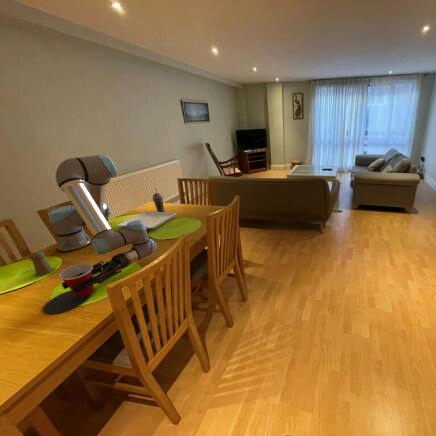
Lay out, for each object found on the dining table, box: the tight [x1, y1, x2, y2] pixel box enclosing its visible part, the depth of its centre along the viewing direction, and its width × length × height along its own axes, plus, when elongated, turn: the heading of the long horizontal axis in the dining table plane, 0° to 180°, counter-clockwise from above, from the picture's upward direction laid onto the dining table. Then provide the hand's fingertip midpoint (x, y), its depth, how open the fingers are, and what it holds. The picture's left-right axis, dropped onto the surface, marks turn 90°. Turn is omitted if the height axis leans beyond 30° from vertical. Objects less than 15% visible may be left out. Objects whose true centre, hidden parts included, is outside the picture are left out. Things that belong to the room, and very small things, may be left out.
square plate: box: [116, 211, 177, 230], centre depth 172 cm, size 27×27×4 cm
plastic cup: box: [58, 262, 95, 298], centre depth 101 cm, size 11×11×12 cm
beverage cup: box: [152, 187, 165, 212], centre depth 190 cm, size 7×7×20 cm
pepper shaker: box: [28, 251, 54, 277], centre depth 116 cm, size 6×6×11 cm
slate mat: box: [42, 289, 92, 315], centre depth 99 cm, size 15×15×1 cm
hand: (68, 288), depth 96 cm, fingers closed on plastic cup, 6 cm apart
